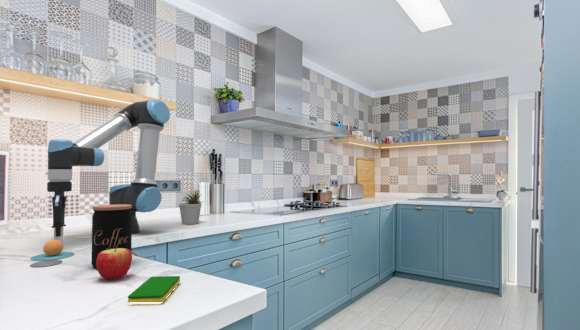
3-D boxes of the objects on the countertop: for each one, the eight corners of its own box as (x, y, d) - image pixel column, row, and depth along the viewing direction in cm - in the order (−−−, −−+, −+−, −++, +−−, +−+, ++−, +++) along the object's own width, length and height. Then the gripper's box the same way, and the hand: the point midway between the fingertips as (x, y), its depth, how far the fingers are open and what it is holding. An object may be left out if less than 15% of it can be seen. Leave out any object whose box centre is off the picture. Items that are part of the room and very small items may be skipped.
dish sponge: (180, 285, 82) (180, 275, 82) (162, 307, 68) (162, 295, 69) (151, 286, 82) (151, 276, 82) (127, 308, 68) (127, 296, 68)
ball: (63, 255, 111) (65, 251, 116) (61, 239, 111) (62, 236, 116) (43, 260, 109) (45, 255, 113) (40, 243, 108) (43, 240, 113)
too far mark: (65, 259, 107) (65, 259, 107) (57, 265, 99) (57, 265, 99) (36, 261, 104) (36, 261, 104) (25, 268, 97) (25, 267, 97)
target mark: (78, 251, 119) (78, 250, 119) (68, 258, 108) (68, 258, 108) (38, 253, 115) (38, 253, 115) (24, 262, 104) (24, 261, 104)
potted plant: (197, 225, 183) (197, 189, 183) (174, 225, 185) (174, 189, 185) (207, 222, 195) (207, 188, 196) (185, 222, 197) (185, 188, 198)
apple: (137, 277, 87) (138, 239, 87) (102, 285, 81) (103, 244, 81) (124, 271, 93) (125, 236, 93) (91, 279, 86) (91, 240, 87)
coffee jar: (86, 271, 93) (87, 207, 94) (97, 262, 103) (98, 204, 104) (127, 268, 96) (128, 206, 97) (134, 259, 106) (134, 203, 107)
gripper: (50, 181, 127) (49, 242, 126) (43, 181, 115) (42, 249, 114) (73, 180, 130) (72, 241, 129) (69, 181, 119) (68, 247, 118)
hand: (58, 244), depth 122 cm, fingers closed
